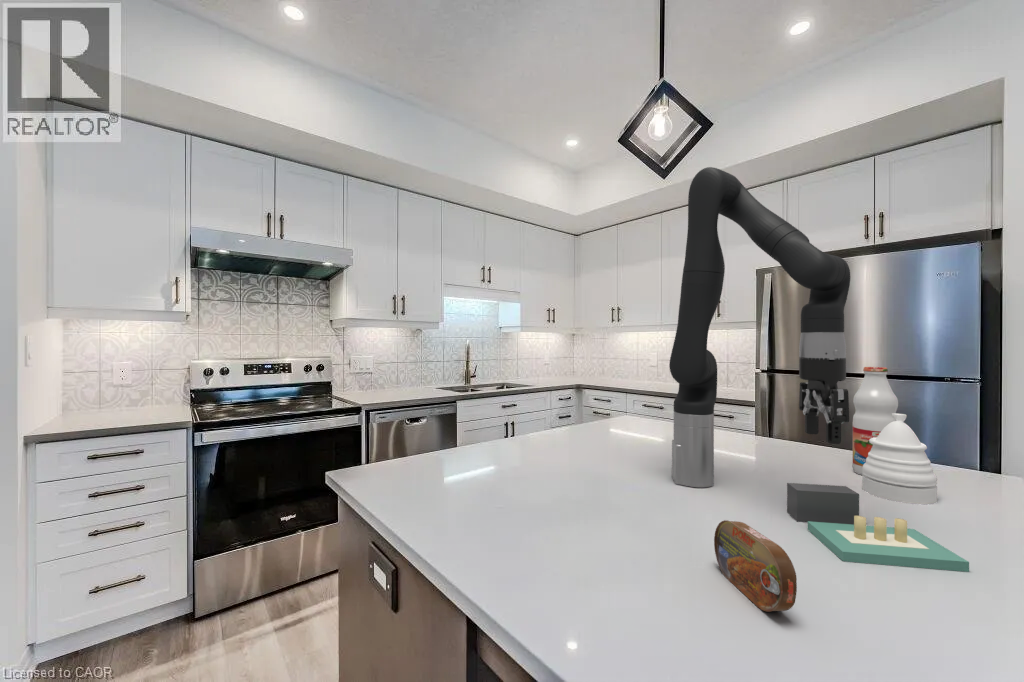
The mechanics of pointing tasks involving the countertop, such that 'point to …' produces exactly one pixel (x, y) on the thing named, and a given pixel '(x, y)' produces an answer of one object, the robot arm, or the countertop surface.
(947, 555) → the header board
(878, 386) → the fruit juice
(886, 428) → the honey pot
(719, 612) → the countertop surface
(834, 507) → the block
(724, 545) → the tin
